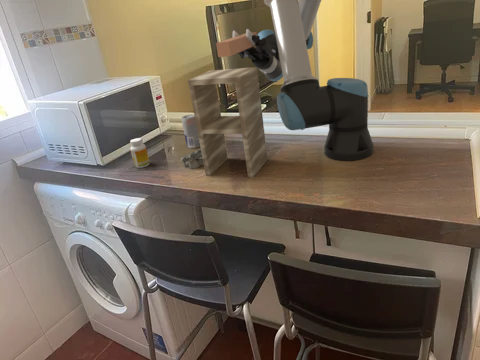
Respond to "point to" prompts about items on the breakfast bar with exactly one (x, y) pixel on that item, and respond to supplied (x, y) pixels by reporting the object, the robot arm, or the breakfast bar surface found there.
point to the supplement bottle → (139, 153)
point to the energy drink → (190, 131)
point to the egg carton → (193, 159)
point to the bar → (233, 45)
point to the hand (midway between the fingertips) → (240, 33)
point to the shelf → (229, 117)
